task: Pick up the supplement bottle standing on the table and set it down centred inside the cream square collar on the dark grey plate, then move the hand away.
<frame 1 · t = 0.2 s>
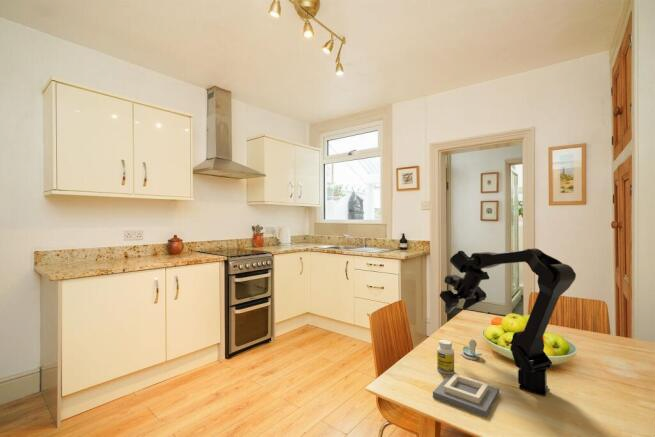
hand: (455, 311, 121), 15 cm above the table, tool tilted 30°, fingers open, 9 cm apart
supplement bottle: (445, 371, 103), on the table
pacifier: (470, 357, 114), on the table
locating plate: (466, 395, 88), on the table
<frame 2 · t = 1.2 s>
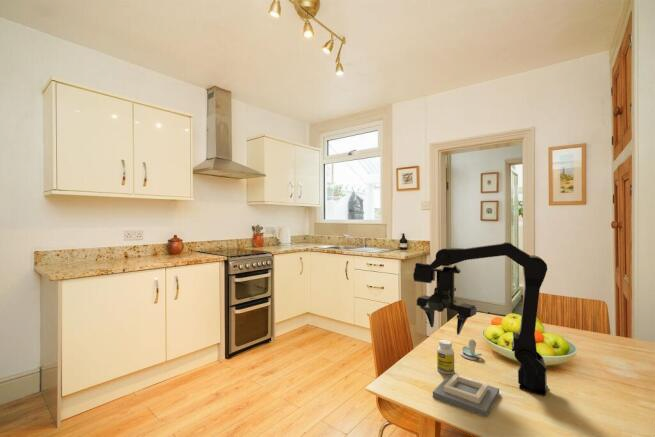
hand: (444, 330, 104), 13 cm above the table, tool pointing down, fingers open, 9 cm apart
nothing on the table moved.
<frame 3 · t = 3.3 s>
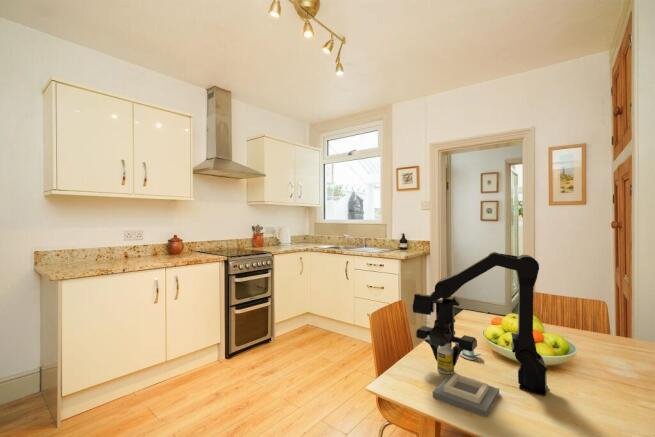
hand: (445, 363, 103), 3 cm above the table, tool pointing down, fingers closed on supplement bottle, 5 cm apart
supplement bottle: (445, 371, 103), on the table, touching gripper
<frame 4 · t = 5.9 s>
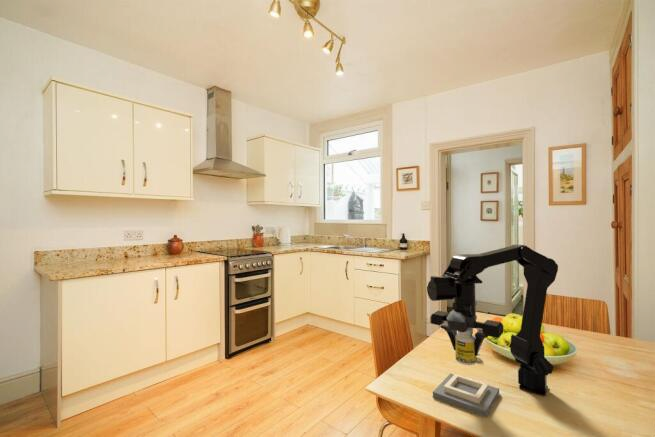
hand: (465, 352, 89), 12 cm above the table, tool pointing down, fingers closed on supplement bottle, 5 cm apart
supplement bottle: (465, 362, 89), point 10 cm above the table, touching gripper
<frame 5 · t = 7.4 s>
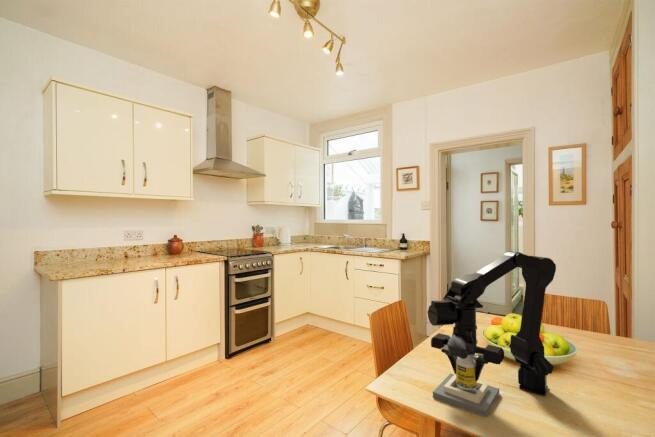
hand: (466, 377, 89), 5 cm above the table, tool pointing down, fingers closed on supplement bottle, 5 cm apart
supplement bottle: (466, 386, 88), point 3 cm above the table, touching gripper
when the fingers open (5 cm above the table, at t = 8.7 s): supplement bottle stays where it is, resting on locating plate.
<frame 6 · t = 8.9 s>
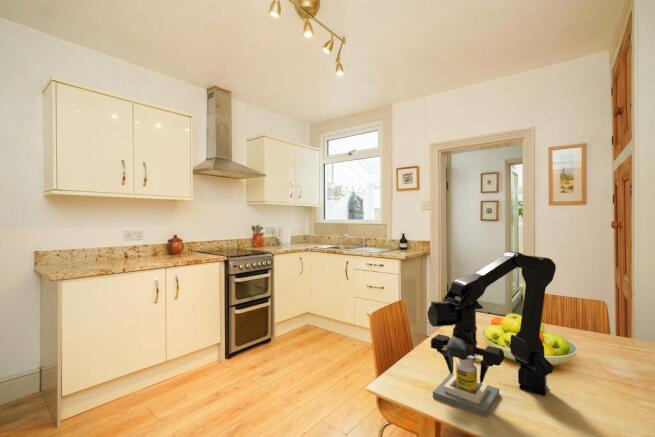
hand: (466, 378, 89), 5 cm above the table, tool pointing down, fingers open, 8 cm apart
supplement bottle: (466, 391, 88), point 1 cm above the table, touching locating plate
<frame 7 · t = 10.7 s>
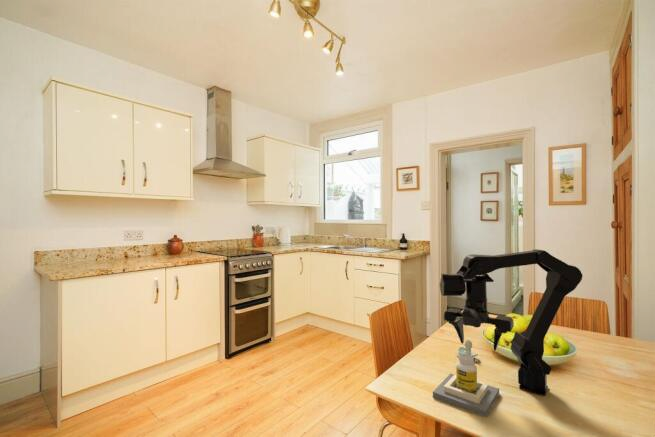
hand: (478, 346, 94), 12 cm above the table, tool pointing down, fingers open, 9 cm apart
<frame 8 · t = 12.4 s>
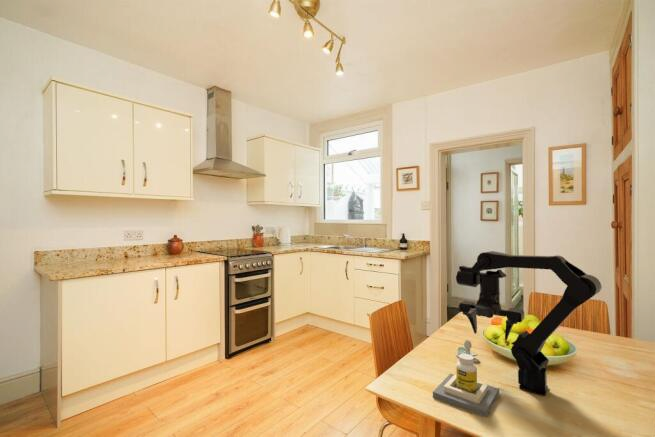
hand: (490, 336, 101), 12 cm above the table, tool pointing down, fingers open, 9 cm apart
at the end: supplement bottle 0.1 cm off-centre on the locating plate, point 1.3 cm above the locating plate's base; supplement bottle tilted 0°; the gripper is holding nothing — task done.
